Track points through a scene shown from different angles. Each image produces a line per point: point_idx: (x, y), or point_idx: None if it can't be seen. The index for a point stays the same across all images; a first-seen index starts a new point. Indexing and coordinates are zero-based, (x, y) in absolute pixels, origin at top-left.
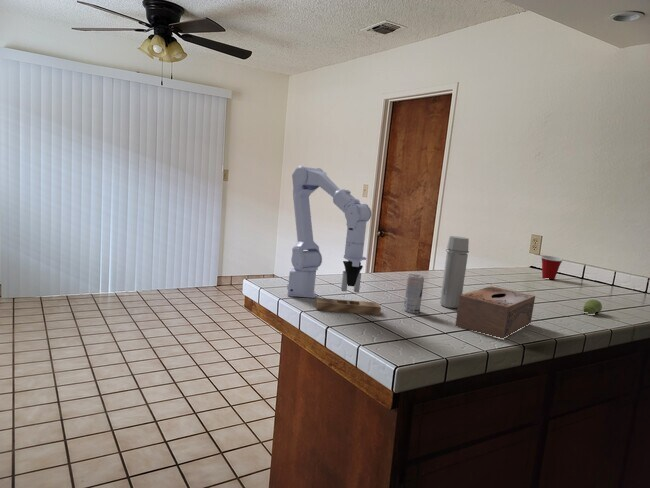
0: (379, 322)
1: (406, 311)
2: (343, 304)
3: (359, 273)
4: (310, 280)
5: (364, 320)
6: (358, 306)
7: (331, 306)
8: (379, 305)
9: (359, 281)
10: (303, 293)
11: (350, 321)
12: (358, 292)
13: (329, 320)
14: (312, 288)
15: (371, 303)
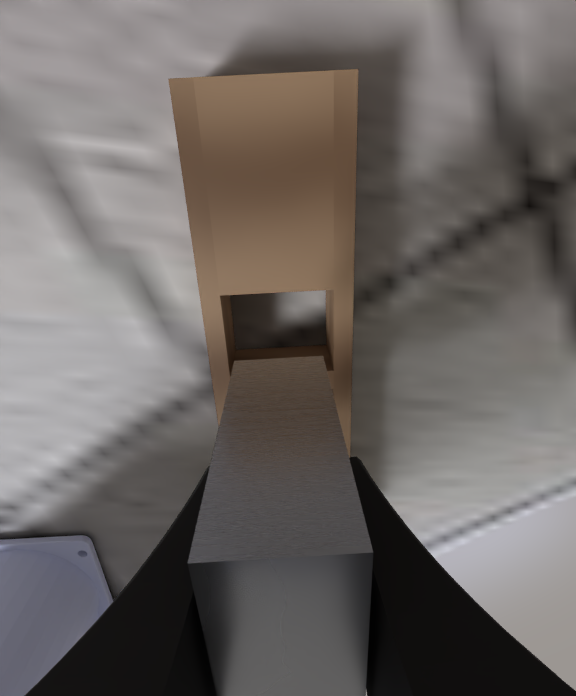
0: (556, 127)
1: None
2: (349, 417)
3: (334, 579)
4: (24, 682)
5: (511, 251)
6: (352, 305)
7: None
8: (285, 77)
9: (346, 448)
10: (92, 604)
11: (539, 348)
12: (324, 362)
13: (525, 457)
14: (35, 601)
15: (235, 169)
